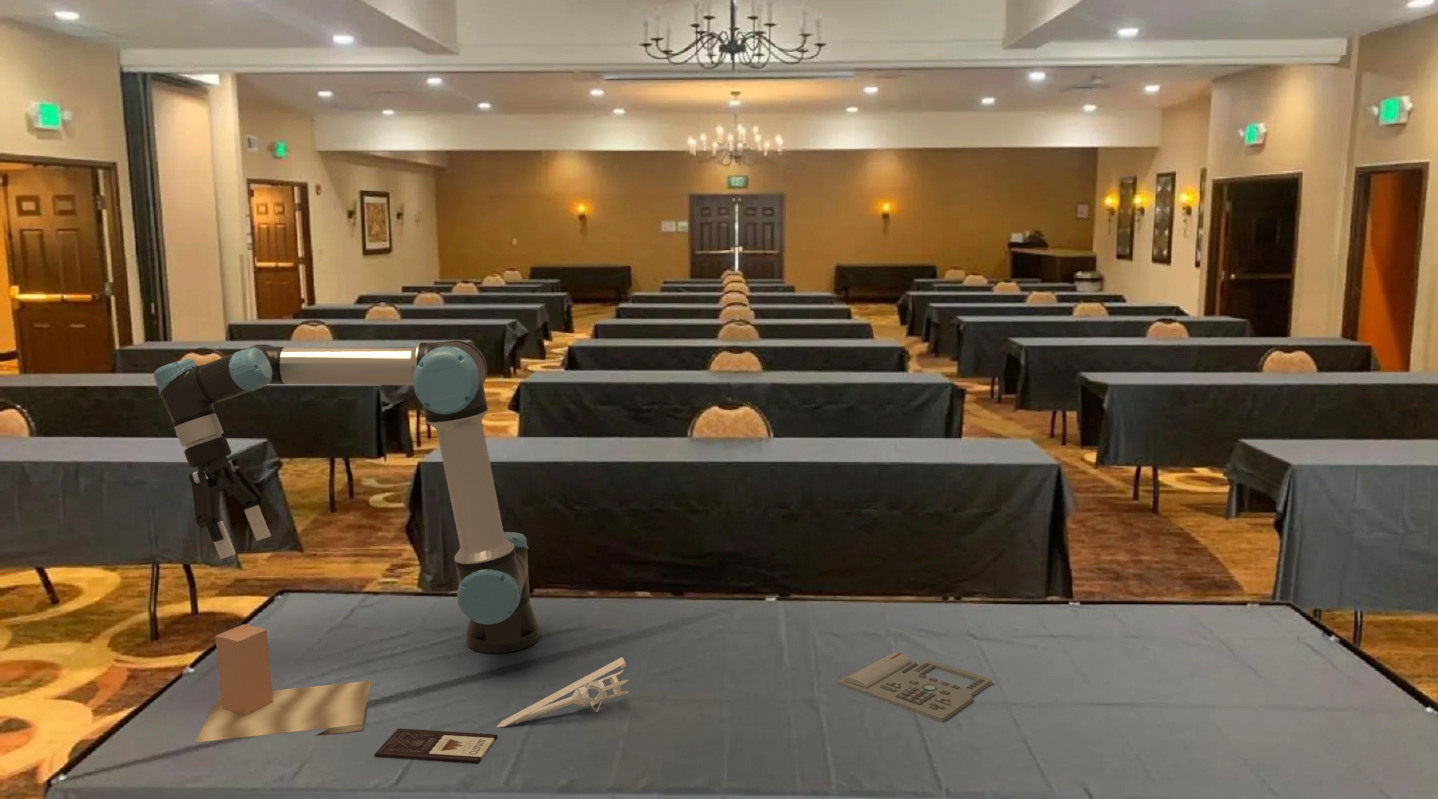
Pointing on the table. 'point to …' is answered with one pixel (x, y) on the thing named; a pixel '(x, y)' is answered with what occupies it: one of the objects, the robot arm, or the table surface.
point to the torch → (578, 697)
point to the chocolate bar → (436, 746)
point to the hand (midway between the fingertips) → (246, 547)
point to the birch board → (294, 713)
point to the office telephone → (914, 686)
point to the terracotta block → (244, 669)
